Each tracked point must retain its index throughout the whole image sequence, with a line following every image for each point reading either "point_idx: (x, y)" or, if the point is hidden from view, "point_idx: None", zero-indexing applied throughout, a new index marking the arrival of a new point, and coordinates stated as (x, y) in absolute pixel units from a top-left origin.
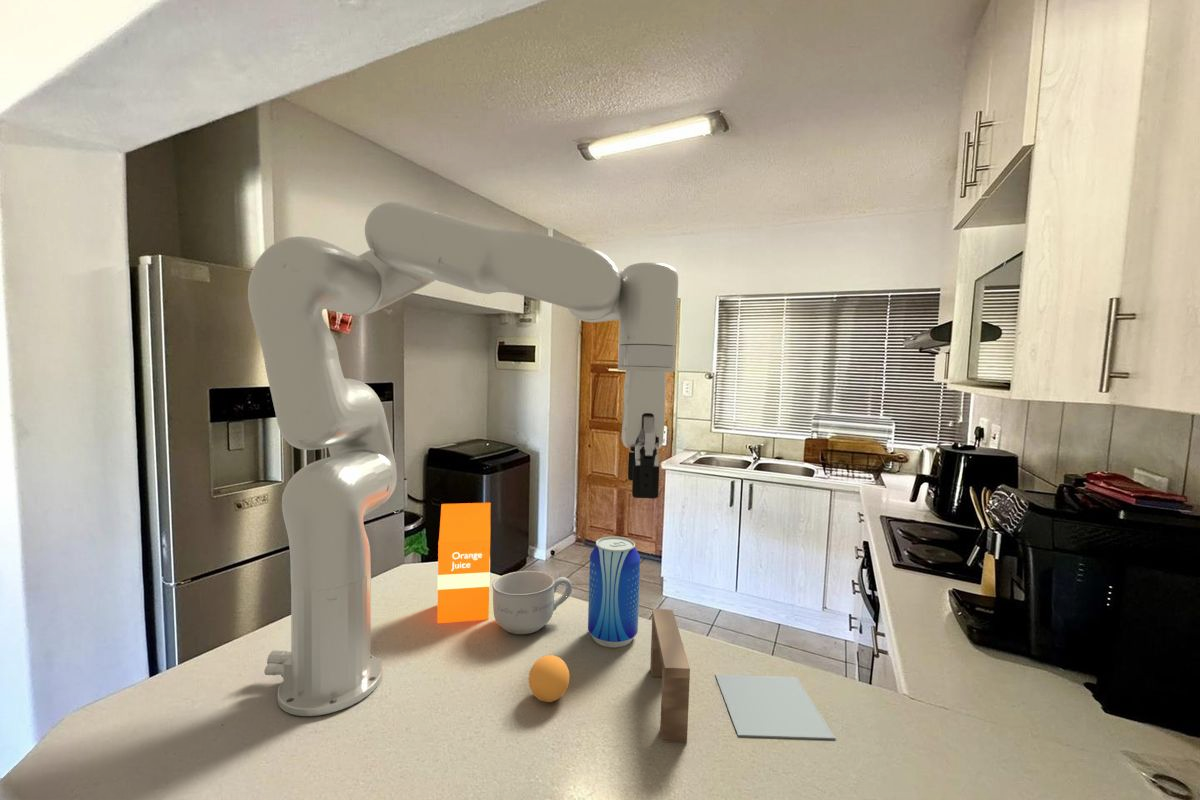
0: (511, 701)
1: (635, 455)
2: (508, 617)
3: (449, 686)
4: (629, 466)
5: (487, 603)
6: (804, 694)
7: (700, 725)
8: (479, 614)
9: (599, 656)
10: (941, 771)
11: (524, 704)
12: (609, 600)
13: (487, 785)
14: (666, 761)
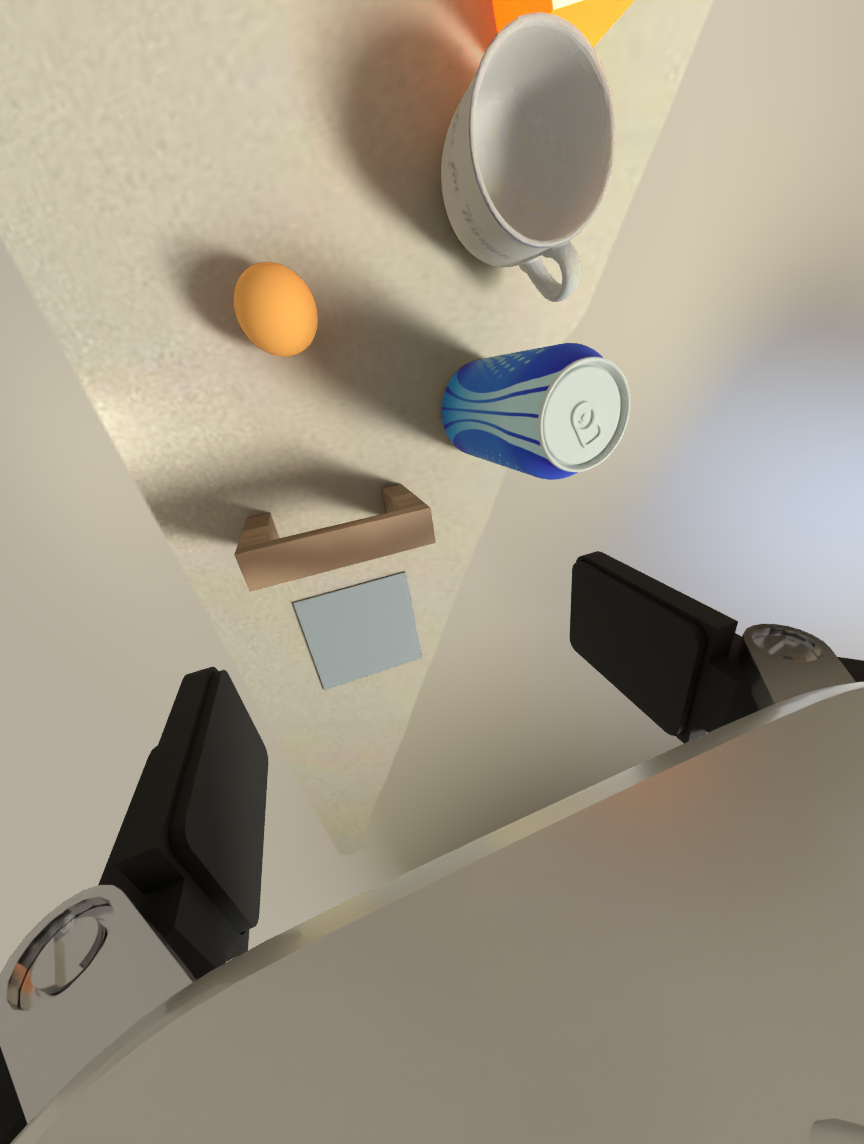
0: (242, 238)
1: (129, 980)
2: (448, 139)
3: (233, 44)
4: (627, 591)
5: None
6: (390, 665)
7: None
8: None
9: (415, 394)
10: (311, 758)
11: None
12: (471, 410)
13: (20, 250)
14: (213, 526)
